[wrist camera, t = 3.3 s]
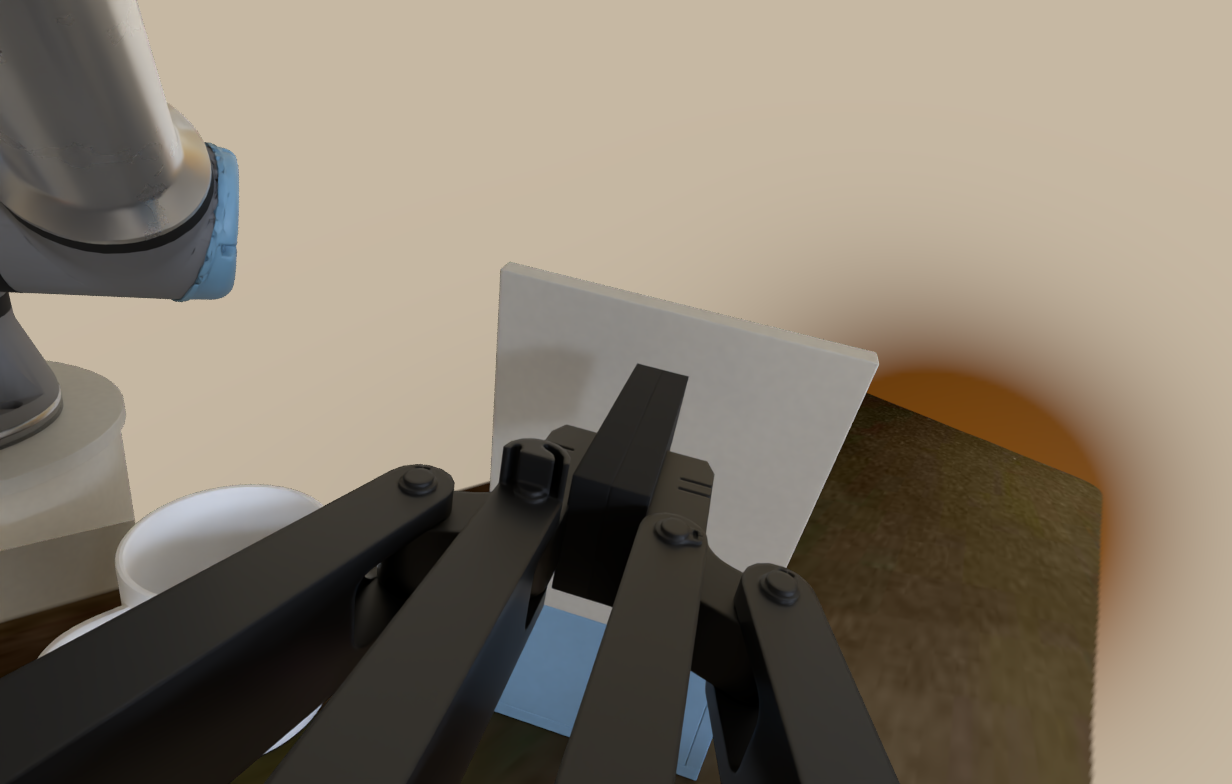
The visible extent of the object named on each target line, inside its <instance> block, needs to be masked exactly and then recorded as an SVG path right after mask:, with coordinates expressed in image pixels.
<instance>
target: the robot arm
mask: <svg viewBox="0 0 1232 784" xmlns="http://www.w3.org/2000/svg"><path fill="white" fill-rule="evenodd" d="M238 173H239V172H238V164H237V159H236V157H235V155H234V154H233V153H232V152H231V151H230V150H227V149H225V148H221V147H217V146H216V145H214V144H212V143H206V142H204V141H203V140H202V138H201V136H200V134H199V133H198V131H197V130H196V129H195V128H194V126H193V125H192V124H191V123H190V122H189V121H188V120H187V119H186V118H185V117H184V115H183V114H181V113H180V112H179V111H178V110H176V109H175V108H174V107H173V106H171V105H170V104H168V103H167V102H166V99H165V95H164V92H163V88H162V85H161V81H160V78H159V75H158V71H157V68H156V64H155V61H154V57H153V54H152V50H151V47H150V44H149V40H148V37H147V33H146V30H145V26H144V23H143V19H142V16H141V13H140V9H139V6H138V3H137V0H0V450H2V449H5V448H7V447H10V446H12V445H15V444H17V443H20V442H22V441H24V440H26V439H28V438H30V437H32V436H34V435H36V434H37V433H39V432H41V431H42V430H44V429H45V428H47V427H48V426H49V425H51V424H52V423H53V422H54V421H55V420H56V419H57V418H58V417H59V415H60V414H61V412H62V410H63V398H62V393H61V388H60V385H59V383H58V381H57V378H56V376H55V374H54V372H53V371H52V370H51V368H50V367H49V365H48V364H47V362H46V361H45V360H44V358H43V357H42V355H41V354H40V352H39V351H38V350H37V348H36V347H35V345H34V344H33V342H32V341H31V339H30V338H29V337H28V335H27V334H26V332H25V331H24V329H23V328H22V327H21V325H20V324H19V322H18V321H17V319H16V318H15V316H14V314H13V310H12V306H11V302H10V297H9V292H18V293H43V294H44V293H45V294H67V295H90V296H113V297H136V298H157V299H171V300H173V301H176V302H177V301H178V302H183V301H188V300H190V299H209V300H212V299H219V298H222V297H224V296H226V295H227V294H228V293H229V292H230V291H231V290H232V288H233V285H234V280H235V272H236V257H237V250H236V245H237V235H238V216H239V174H238ZM688 378H689V376H685V375H681V374H677V373H673V372H669V371H666V370H662V369H658V368H654V367H650V366H646V365H642V364H638V363H637V365H636V366H635V368H634V370H633V371H632V373H631V375H630V377H629V378H628V380H627V382H626V384H625V385H624V387H623V389H622V390H621V392H620V394H619V396H618V397H617V399H616V401H615V403H614V404H613V406H612V408H611V409H610V411H609V413H608V415H607V416H606V418H605V420H604V422H603V423H602V425H601V427H600V428H599V430H598V432H597V433H596V432H593V431H589V430H585V429H582V428H578V427H575V426H571V425H567V424H566V425H564V426H562V427H559V428H557V429H555V430H553V431H551V433H550V434H549V435H548V437H547V438H546V439H545V440H542V439H536V438H521V439H518V440H514V441H510V442H509V443H508V444H506V445H505V446H503V454H502V461H501V469H500V476H499V483H498V484H497V486H496V487H495V488H494V489H493V491H492V492H464V491H454V481H453V479H452V477H451V475H450V474H448V473H447V472H445V471H444V470H442V469H440V468H436V467H433V466H430V465H422V464H415V465H407V466H402V467H399V468H396V469H393V470H391V471H389V472H387V473H385V474H383V475H381V476H379V477H378V478H376V479H374V480H372V481H370V482H368V483H366V484H364V485H363V486H361V487H359V488H357V489H355V490H353V491H351V492H349V493H348V494H346V495H344V496H342V497H340V498H338V499H336V500H334V501H333V502H331V503H329V504H327V505H325V506H323V507H321V508H319V509H318V510H316V511H314V512H312V513H310V514H308V515H306V516H304V517H303V518H301V519H299V520H297V521H295V522H293V523H291V524H289V525H288V526H286V527H284V528H282V529H280V530H278V531H276V532H274V533H272V534H271V535H269V536H267V537H265V538H263V539H261V540H259V541H257V542H256V543H254V544H252V545H250V546H248V547H246V548H244V549H242V550H241V551H239V552H237V553H235V554H233V555H231V556H229V557H227V558H226V559H224V560H222V561H220V562H218V563H216V564H214V565H212V566H211V567H209V568H207V569H205V570H203V571H201V572H199V573H197V574H196V575H194V576H192V577H190V578H188V579H186V580H184V581H182V582H181V583H179V584H177V585H175V586H173V587H171V588H169V589H167V590H165V591H164V592H162V593H160V594H158V595H156V596H154V597H152V598H150V599H149V600H147V601H145V602H143V603H141V604H139V605H137V606H135V607H134V608H132V609H130V610H128V611H126V612H124V613H122V614H120V615H119V616H117V617H115V618H113V619H111V620H109V621H107V622H105V623H104V624H102V625H100V626H98V627H96V628H94V629H92V630H90V631H89V632H87V633H85V634H83V635H81V636H79V637H77V638H75V639H74V640H72V641H70V642H68V643H66V644H64V645H62V646H60V647H58V648H57V649H55V650H53V651H51V652H49V653H47V654H45V655H43V656H42V657H40V658H38V659H36V660H34V661H32V662H30V663H28V664H27V665H25V666H23V667H21V668H19V669H17V670H15V671H13V672H12V673H10V674H8V675H6V676H4V677H2V678H0V784H229V783H230V782H232V781H233V780H234V779H235V778H236V777H237V776H239V775H240V774H241V773H242V772H243V771H244V770H246V769H247V768H248V767H249V766H250V765H251V764H253V763H254V762H255V761H256V760H257V759H258V758H260V757H261V756H262V755H263V754H264V753H265V752H267V751H268V750H269V749H270V748H271V747H272V746H274V745H275V744H276V743H277V742H278V741H279V740H281V739H282V738H283V737H284V736H285V735H286V734H288V733H289V732H290V731H291V730H292V729H293V728H295V727H296V726H297V725H298V724H299V723H300V722H302V721H303V720H304V719H305V718H306V717H307V716H309V715H310V714H311V713H312V712H313V711H314V710H316V709H317V708H318V707H319V706H320V705H321V704H323V703H324V702H325V701H326V700H327V699H328V698H330V697H331V696H332V695H333V694H334V695H333V696H332V697H331V698H330V700H329V701H328V702H327V703H326V705H325V706H324V707H323V709H322V710H321V711H320V712H319V714H318V715H317V716H316V718H315V719H314V720H313V721H312V723H311V724H310V725H309V727H308V728H307V729H306V730H305V732H304V733H303V734H302V736H301V737H300V738H299V739H298V741H297V742H296V743H295V745H294V746H293V747H292V748H291V750H290V751H289V752H288V753H287V755H286V756H285V757H284V759H283V760H282V761H281V762H280V764H279V765H278V766H277V768H276V769H275V770H274V771H273V773H272V774H271V775H270V777H269V778H268V779H267V780H266V782H265V783H264V784H460V782H461V780H462V778H463V776H464V774H465V772H466V770H467V767H468V765H469V763H470V761H471V759H472V757H473V755H474V753H475V751H476V748H477V746H478V744H479V742H480V740H481V738H482V736H483V734H484V731H485V729H486V727H487V725H488V723H489V721H490V719H491V717H492V714H493V712H494V710H495V708H496V706H497V704H498V702H499V700H500V698H501V695H502V693H503V691H504V689H505V687H506V685H507V683H508V681H509V678H510V676H511V674H512V672H513V670H514V668H515V666H516V664H517V661H518V659H519V657H520V655H521V653H522V651H523V649H524V647H525V645H526V642H527V640H528V638H529V636H530V634H531V632H532V630H533V628H534V625H535V623H536V621H537V619H538V617H539V615H540V613H541V611H542V608H543V606H544V602H545V596H546V591H547V586H548V584H549V582H550V580H551V578H552V576H553V574H554V577H553V582H552V589H555V590H559V591H562V592H565V593H568V594H571V595H575V596H578V597H581V598H584V599H587V600H591V601H594V602H597V603H600V604H604V605H607V606H610V607H612V610H611V613H610V616H609V619H608V622H607V625H606V628H605V631H604V634H603V637H602V640H601V643H600V646H599V649H598V653H597V656H596V659H595V662H594V665H593V668H592V671H591V674H590V677H589V680H588V683H587V686H586V689H585V692H584V695H583V698H582V701H581V704H580V707H579V710H578V713H577V716H576V719H575V722H574V725H573V728H572V731H571V734H570V738H569V741H568V744H567V747H566V750H565V753H564V756H563V759H562V762H561V765H560V768H559V771H558V774H557V777H556V780H555V783H554V784H675V778H676V771H677V764H678V757H679V749H680V742H681V735H682V728H683V721H684V714H685V706H686V699H687V692H688V685H689V678H690V671H691V672H693V673H695V674H696V675H698V676H699V677H701V678H703V679H704V680H706V683H705V694H706V700H707V705H708V711H709V717H710V723H711V728H712V734H713V740H714V745H715V751H716V757H717V763H718V768H719V774H720V780H721V784H900V783H899V781H898V779H897V776H896V774H895V772H894V770H893V767H892V765H891V763H890V761H889V758H888V756H887V754H886V752H885V749H884V747H883V745H882V743H881V740H880V738H879V736H878V733H877V731H876V729H875V727H874V724H873V722H872V720H871V718H870V715H869V713H868V711H867V709H866V706H865V704H864V702H863V700H862V697H861V695H860V693H859V691H858V688H857V686H856V684H855V681H854V679H853V677H852V675H851V672H850V670H849V668H848V666H847V663H846V661H845V659H844V657H843V654H842V652H841V650H840V648H839V645H838V643H837V641H836V639H835V636H834V634H833V632H832V629H831V627H830V625H829V623H828V620H827V618H826V616H825V614H824V611H823V609H822V607H821V605H820V602H819V600H818V598H817V596H816V593H815V592H814V590H813V589H812V588H811V586H810V585H809V583H808V582H807V581H805V580H804V579H803V578H802V577H801V576H799V575H798V574H797V573H795V572H793V571H791V570H789V569H787V568H785V567H782V566H779V565H775V564H771V563H756V564H753V565H751V566H748V567H747V568H746V569H745V571H744V572H741V571H739V570H737V569H735V568H733V567H732V566H730V565H728V564H727V563H725V562H724V561H722V560H721V559H720V558H719V557H718V556H716V555H715V554H714V552H713V551H712V550H711V548H710V547H709V545H708V539H707V535H706V530H707V523H708V516H709V509H710V502H711V495H712V487H713V482H714V475H715V474H714V472H713V471H712V469H711V467H710V465H709V463H708V461H704V460H700V459H697V458H693V457H689V456H686V455H682V454H678V453H675V452H671V451H670V448H671V444H672V441H673V437H674V433H675V429H676V425H677V421H678V417H679V413H680V409H681V406H682V402H683V398H684V394H685V390H686V386H687V382H688ZM375 566H376V567H375ZM374 567H375V568H374ZM371 569H372V570H371ZM370 570H371V571H370Z"/></svg>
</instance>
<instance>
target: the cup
mask: <svg viewBox="0 0 1232 784" xmlns="http://www.w3.org/2000/svg"><path fill="white" fill-rule="evenodd" d="M321 507H323V505H322V504H321V503H320V502H319V501H317V500H316V499H315V498H313V497H311V496H309V495H307V494H305V493H303V492H300V491H297V490H294V489H289V488H286V487H280V486H274V485H262V484H245V485H232V486H224V487H218V488H213V489H208V490H204V491H200V492H196V493H193V494H190V495H187V496H184V497H182V498H179V499H176V500H174V501H172V502H169V503H167V504H165V505H163V506H161V507H159V508H157V509H156V510H154V511H153V512H151V513H149V514H148V515H147V516H145V517H144V518H142V519H141V520H140V521H138V522H137V523H136V524H135V525H134V526H133V527H132V528H131V529H130V530H129V531H128V532H127V533H126V535H125V536H124V537H123V539H122V540H121V542H120V544H119V546H118V548H117V551H116V554H115V569H116V575H117V580H118V586H119V592H120V597H121V603H122V606H120V607H117V608H114V609H112V610H109V611H107V612H104V613H102V614H99V615H97V616H95V617H92V618H90V619H88V620H86V621H84V622H82V623H80V624H78V625H76V626H74V627H72V628H71V629H69V630H68V631H66V632H64V633H63V634H62V635H60V636H59V637H57V638H56V639H55V640H54V641H53V642H52V643H50V644H49V645H48V646H47V647H46V648H45V650H44V651H43V652H42V653H41V654H40V655H39V657H38V658H40V657H42V656H43V655H45V654H47V653H49V652H51V651H53V650H55V649H57V648H58V647H60V646H62V645H64V644H66V643H68V642H70V641H72V640H74V639H75V638H77V637H79V636H81V635H83V634H85V633H87V632H89V631H90V630H92V629H94V628H96V627H98V626H100V625H102V624H104V623H105V622H107V621H109V620H111V619H113V618H115V617H117V616H119V615H120V614H122V613H124V612H126V611H128V610H130V609H132V608H134V607H135V606H137V605H139V604H141V603H143V602H145V601H147V600H149V599H150V598H152V597H154V596H156V595H158V594H160V593H162V592H164V591H165V590H167V589H169V588H171V587H173V586H175V585H177V584H179V583H181V582H182V581H184V580H186V579H188V578H190V577H192V576H194V575H196V574H197V573H199V572H201V571H203V570H205V569H207V568H209V567H211V566H212V565H214V564H216V563H218V562H220V561H222V560H224V559H226V558H227V557H229V556H231V555H233V554H235V553H237V552H239V551H241V550H242V549H244V548H246V547H248V546H250V545H252V544H254V543H256V542H257V541H259V540H261V539H263V538H265V537H267V536H269V535H271V534H272V533H274V532H276V531H278V530H280V529H282V528H284V527H286V526H288V525H289V524H291V523H293V522H295V521H297V520H299V519H301V518H303V517H304V516H306V515H308V514H310V513H312V512H314V511H316V510H318V509H319V508H321ZM321 705H322V704H321ZM321 705H320V706H319V707H318V708H317V709H316V710H314V711H313V712H312V713H311V714H310V715H309V716H307V717H306V718H305V719H304V720H303V721H302V722H300V723H299V724H298V725H297V726H296V727H295V728H293V729H292V730H291V731H290V732H289V733H288V734H286V735H285V736H284V737H283V738H282V739H281V740H279V741H278V742H277V743H276V744H275V745H274V746H272V747H271V748H270V749H269V750H268V751H267V752H269V751H271V750H273V749H275V748H277V747H278V746H280V745H282V744H283V743H285V742H286V741H288V740H289V739H290V738H292V737H293V736H294V735H295V734H297V733H298V732H299V731H300V730H301V729H302V728H303V727H305V726H306V724H307V723H308V722H309V721H310V720H311V719H312V718H313V717H314V715H315V714H316V713H317V711H318V710H319V708H320V707H321ZM267 752H265V753H267ZM265 753H264V754H265Z"/></svg>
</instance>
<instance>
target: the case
mask: <svg viewBox="0 0 1232 784" xmlns="http://www.w3.org/2000/svg"><path fill="white" fill-rule="evenodd" d="M606 625H607V624H603V623H600V622H597V621H594V620H591V619H588V618H585V617H582V616H578V615H575V614H572V613H569V612H566V611H563V610H560V609H556V608H553V607H550V606H547V605H544V606H543V608H542V611H541V613H540V615H539V617H538V619H537V621H536V623H535V625H534V628H533V630H532V632H531V634H530V636H529V638H528V640H527V642H526V645H525V647H524V649H523V651H522V653H521V655H520V657H519V659H518V661H517V664H516V666H515V668H514V670H513V672H512V674H511V676H510V678H509V681H508V683H507V685H506V687H505V689H504V691H503V693H502V695H501V698H500V700H499V702H498V704H497V706H496V708H495V710H494V711H495V712H498V713H501V714H504V715H507V716H510V717H512V718H515V719H518V720H521V721H524V722H527V723H530V724H533V725H536V726H539V727H541V728H544V729H547V730H550V731H553V732H556V733H559V734H562V735H565V736H568V737H570V734H571V731H572V728H573V725H574V722H575V719H576V716H577V713H578V710H579V707H580V704H581V701H582V698H583V695H584V692H585V689H586V686H587V683H588V680H589V677H590V674H591V671H592V668H593V665H594V662H595V659H596V656H597V653H598V649H599V646H600V643H601V640H602V637H603V634H604V631H605V628H606ZM705 683H706V680H704V679H703V678H701V677H699V676H698V675H696V674H695V673H693V672H691V671H690V678H689V685H688V692H687V699H686V706H685V714H684V721H683V728H682V735H681V742H680V749H679V757H678V764H677V771H676V774H678V775H681V776H683V777H686V778H689V779H692V780H695V781H696V780H697V777H698V774H699V772H700V769H701V766H702V764H703V761H704V758H705V756H706V753H707V750H708V748H709V745H710V742H711V740H712V737H713V734H712V728H711V723H710V717H709V711H708V705H707V700H706V694H705Z"/></svg>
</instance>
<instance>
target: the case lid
mask: <svg viewBox="0 0 1232 784" xmlns="http://www.w3.org/2000/svg"><path fill="white" fill-rule="evenodd" d="M637 363H638V364H642V365H646V366H650V367H654V368H658V369H662V370H666V371H669V372H673V373H677V374H681V375H685V376H689V378H688V382H687V386H686V390H685V394H684V398H683V402H682V406H681V409H680V413H679V417H678V421H677V425H676V429H675V433H674V437H673V441H672V444H671V448H670V451H671V452H675V453H678V454H682V455H686V456H689V457H693V458H697V459H700V460H704V461H708V463H709V465H710V467H711V469H712V471H713V472H714V474H715V475H714V482H713V487H712V495H711V502H710V509H709V516H708V523H707V530H706V535H707V539H708V545H709V547H710V548H711V550H712V551H713V552H714V554H715V555H716V556H718V557H719V558H720V559H721V560H722V561H724V562H725V563H727V564H728V565H730V566H732V567H733V568H735V569H737V570H739V571H741V572H744V571H745V569H746V568H747V567H748V566H751V565H753V564H756V563H771V564H775V565H779V566H782V567H785V568H786V567H787V565H788V563H789V561H790V558H791V556H792V554H793V552H794V550H795V547H796V545H797V543H798V541H799V539H800V536H801V534H802V532H803V530H804V528H805V525H806V523H807V521H808V519H809V517H810V514H811V512H812V510H813V508H814V506H815V504H816V501H817V499H818V497H819V495H820V493H821V490H822V488H823V486H824V484H825V482H826V479H827V477H828V475H829V473H830V471H831V468H832V466H833V464H834V462H835V460H836V457H837V455H838V453H839V451H840V449H841V446H842V444H843V442H844V440H845V438H846V436H847V433H848V431H849V429H850V427H851V425H852V422H853V420H854V418H855V416H856V414H857V411H858V409H859V407H860V405H861V403H862V400H863V398H864V396H865V394H866V392H867V389H868V387H869V385H870V383H871V381H872V379H873V376H874V374H875V372H876V370H877V368H878V365H879V362H878V358H877V353H876V352H872V351H868V350H864V349H860V348H856V347H852V346H848V345H844V344H839V343H836V342H832V341H827V340H824V339H820V338H816V337H812V336H808V335H804V334H799V333H795V332H791V331H787V330H783V329H779V328H775V327H771V326H767V325H763V324H759V323H755V322H751V321H747V320H743V319H739V318H734V317H731V316H727V315H723V314H719V313H715V312H711V311H707V310H702V309H698V308H694V307H690V306H686V305H682V304H678V303H674V302H670V301H666V300H662V299H658V298H654V297H649V296H646V295H642V294H638V293H633V292H630V291H625V290H622V289H618V288H613V287H610V286H605V285H601V284H597V283H593V282H589V281H585V280H581V279H577V278H573V277H569V276H565V275H561V274H557V273H553V272H549V271H544V270H540V269H537V268H533V267H529V266H524V265H520V264H517V263H512V262H509V263H507V264H506V265H505V266H504V267H503V268H502V269H501V271H500V293H499V313H498V333H497V353H496V374H495V394H494V396H495V397H494V415H493V436H492V457H491V477H490V492H492V491H493V489H494V488H495V487H496V486H497V484H498V483H499V476H500V469H501V461H502V454H503V446H505V445H506V444H508V443H509V442H510V441H514V440H518V439H521V438H536V439H542V440H545V439H546V438H547V437H548V435H549V434H550V433H551V431H553V430H555V429H557V428H559V427H562V426H564V425H566V424H567V425H571V426H575V427H578V428H582V429H585V430H589V431H593V432H596V433H597V432H598V430H599V428H600V427H601V425H602V423H603V422H604V420H605V418H606V416H607V415H608V413H609V411H610V409H611V408H612V406H613V404H614V403H615V401H616V399H617V397H618V396H619V394H620V392H621V390H622V389H623V387H624V385H625V384H626V382H627V380H628V378H629V377H630V375H631V373H632V371H633V370H634V368H635V366H636V365H637ZM553 577H554V574H553V576H552V578H551V580H550V582H549V584H548V586H547V591H546V596H545V602H544V605H547V606H550V607H553V608H556V609H560V610H563V611H566V612H569V613H572V614H575V615H578V616H582V617H585V618H588V619H591V620H594V621H597V622H600V623H603V624H607V622H608V619H609V616H610V613H611V610H612V607H610V606H607V605H604V604H600V603H597V602H594V601H591V600H587V599H584V598H581V597H578V596H575V595H571V594H568V593H565V592H562V591H559V590H555V589H552V582H553Z"/></svg>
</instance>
